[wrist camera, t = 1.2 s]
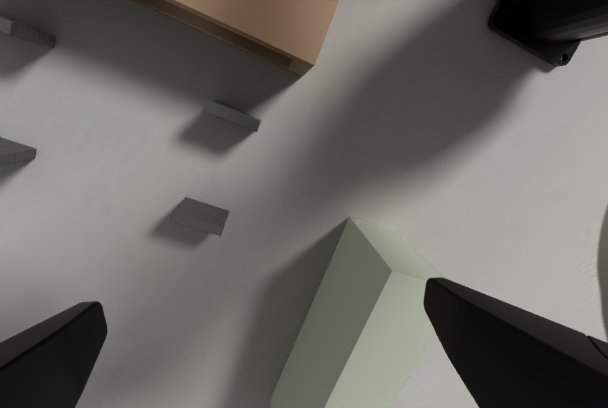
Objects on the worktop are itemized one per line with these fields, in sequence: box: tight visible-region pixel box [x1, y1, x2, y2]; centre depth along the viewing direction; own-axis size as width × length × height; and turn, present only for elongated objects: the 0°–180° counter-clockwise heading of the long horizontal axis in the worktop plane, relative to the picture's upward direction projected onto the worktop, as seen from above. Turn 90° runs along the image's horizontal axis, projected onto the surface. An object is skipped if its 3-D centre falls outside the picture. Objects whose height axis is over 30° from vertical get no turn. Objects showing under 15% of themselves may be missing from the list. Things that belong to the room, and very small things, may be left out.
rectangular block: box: [271, 217, 446, 408], centre depth 21 cm, size 18×5×8 cm, turn 159°
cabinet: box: [0, 0, 339, 236], centre depth 15 cm, size 18×19×5 cm
